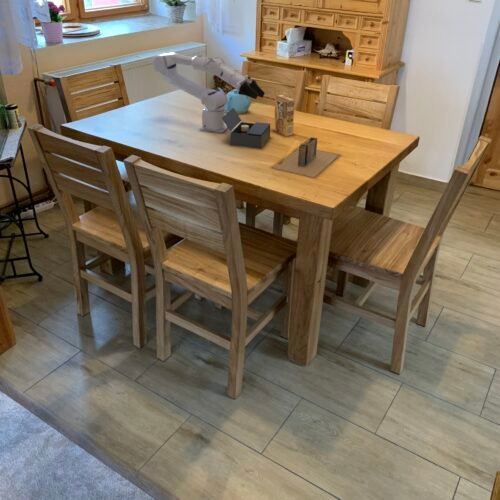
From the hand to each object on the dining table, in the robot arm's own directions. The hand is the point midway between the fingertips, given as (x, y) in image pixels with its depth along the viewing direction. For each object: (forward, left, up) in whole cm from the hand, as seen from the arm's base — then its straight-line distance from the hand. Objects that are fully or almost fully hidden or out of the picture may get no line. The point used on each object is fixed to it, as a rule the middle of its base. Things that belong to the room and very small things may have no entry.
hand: (260, 96), depth 204 cm
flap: (-10, -6, -9) cm, 15 cm away
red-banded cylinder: (-4, -6, -17) cm, 19 cm away
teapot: (-20, +34, -18) cm, 43 cm away
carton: (-2, -6, -17) cm, 19 cm away
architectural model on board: (+24, -20, -18) cm, 36 cm away
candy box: (+9, +9, -18) cm, 21 cm away
